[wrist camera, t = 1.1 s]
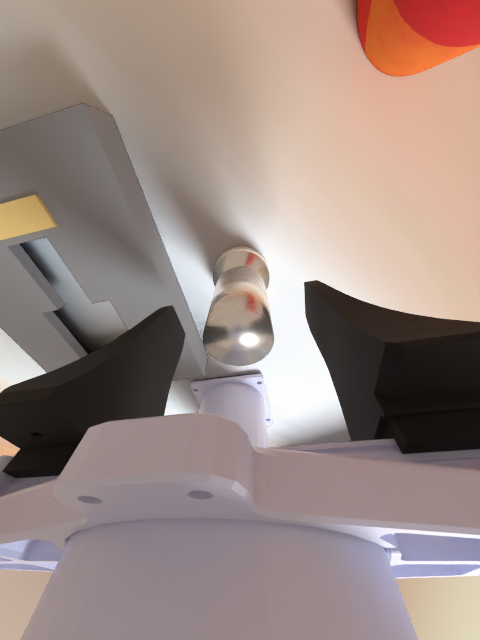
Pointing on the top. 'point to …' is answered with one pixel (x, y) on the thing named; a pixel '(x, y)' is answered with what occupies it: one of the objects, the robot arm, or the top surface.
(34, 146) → the keyhole plate
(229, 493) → the robot arm
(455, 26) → the paper cup
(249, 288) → the keyhole peg
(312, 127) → the top surface
